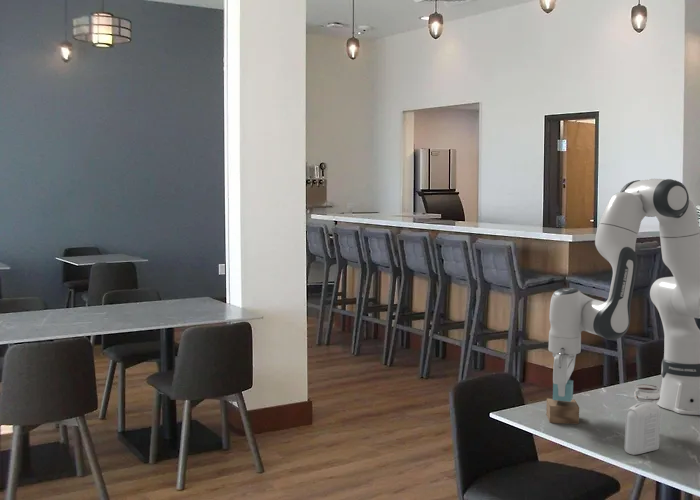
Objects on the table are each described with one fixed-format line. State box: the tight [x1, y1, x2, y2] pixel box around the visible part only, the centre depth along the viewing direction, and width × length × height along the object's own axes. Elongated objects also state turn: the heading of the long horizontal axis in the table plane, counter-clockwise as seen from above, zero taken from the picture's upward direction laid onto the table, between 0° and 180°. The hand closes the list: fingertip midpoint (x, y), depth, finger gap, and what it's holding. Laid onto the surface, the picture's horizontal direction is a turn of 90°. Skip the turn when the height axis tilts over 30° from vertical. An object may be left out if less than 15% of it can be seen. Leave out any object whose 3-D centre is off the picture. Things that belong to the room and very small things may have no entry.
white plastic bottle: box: [624, 402, 662, 456], centre depth 200 cm, size 10×4×12 cm, turn 123°
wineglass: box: [633, 383, 661, 404], centre depth 217 cm, size 7×7×12 cm
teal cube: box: [552, 379, 574, 402], centre depth 227 cm, size 5×5×5 cm
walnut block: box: [545, 398, 580, 425], centre depth 227 cm, size 8×8×5 cm
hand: (563, 393), depth 227 cm, fingers closed on teal cube, 5 cm apart
